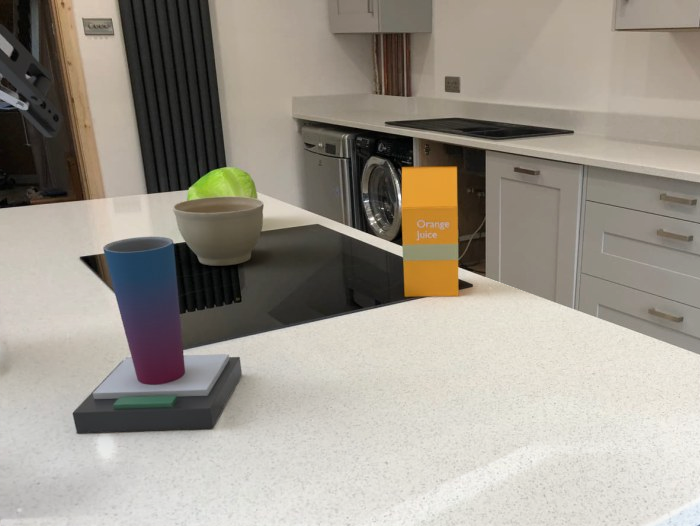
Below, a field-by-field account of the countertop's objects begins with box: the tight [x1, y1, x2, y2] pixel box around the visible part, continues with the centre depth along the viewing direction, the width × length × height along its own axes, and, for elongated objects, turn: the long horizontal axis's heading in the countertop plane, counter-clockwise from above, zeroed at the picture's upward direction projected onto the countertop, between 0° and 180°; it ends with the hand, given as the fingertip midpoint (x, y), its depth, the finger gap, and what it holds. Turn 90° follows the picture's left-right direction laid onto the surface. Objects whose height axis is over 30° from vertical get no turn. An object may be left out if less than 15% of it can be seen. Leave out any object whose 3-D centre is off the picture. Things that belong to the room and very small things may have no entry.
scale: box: [72, 353, 243, 434], centre depth 82 cm, size 14×14×3 cm
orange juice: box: [400, 165, 459, 298], centre depth 118 cm, size 8×9×20 cm
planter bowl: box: [172, 196, 265, 267], centre depth 138 cm, size 16×16×11 cm
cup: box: [102, 236, 185, 385], centre depth 79 cm, size 7×7×15 cm
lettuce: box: [186, 166, 258, 201], centre depth 164 cm, size 15×20×14 cm
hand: (13, 129), depth 63 cm, fingers open, 8 cm apart
